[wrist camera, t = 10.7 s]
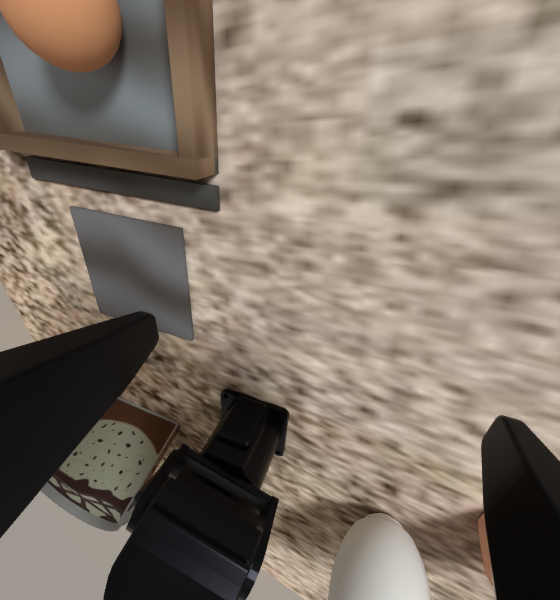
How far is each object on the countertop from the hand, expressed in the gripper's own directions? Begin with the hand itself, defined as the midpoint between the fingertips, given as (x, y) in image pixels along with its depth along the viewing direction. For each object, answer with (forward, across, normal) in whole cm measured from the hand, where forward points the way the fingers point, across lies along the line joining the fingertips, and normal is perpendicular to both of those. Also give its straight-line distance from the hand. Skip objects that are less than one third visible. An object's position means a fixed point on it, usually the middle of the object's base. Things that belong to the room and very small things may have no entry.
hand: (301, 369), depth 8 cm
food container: (+12, +20, +28) cm, 37 cm away
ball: (+9, +15, -9) cm, 20 cm away
